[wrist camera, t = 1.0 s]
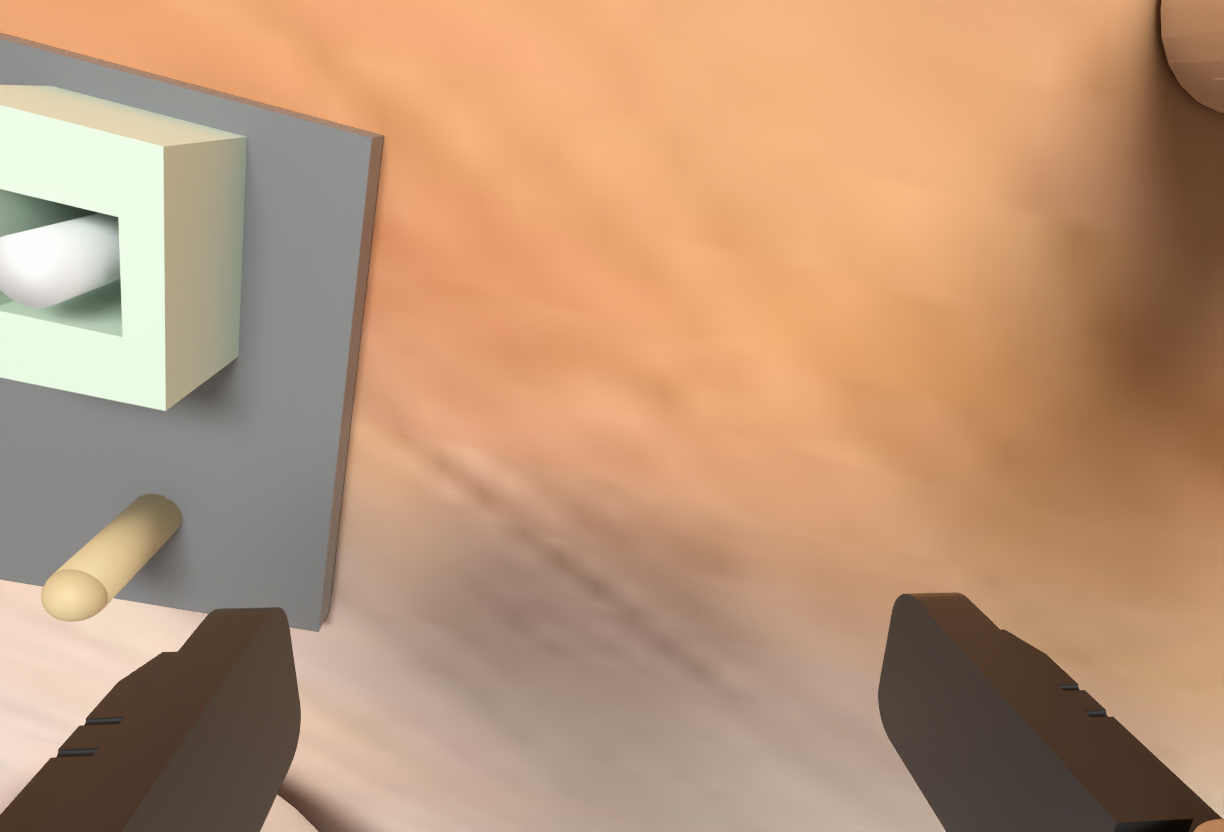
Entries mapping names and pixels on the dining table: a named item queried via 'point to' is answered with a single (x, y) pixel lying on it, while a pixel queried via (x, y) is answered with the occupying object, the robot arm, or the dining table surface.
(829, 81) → the dining table surface
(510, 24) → the dining table surface
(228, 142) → the collar
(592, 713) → the dining table surface
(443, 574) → the dining table surface
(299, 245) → the board
